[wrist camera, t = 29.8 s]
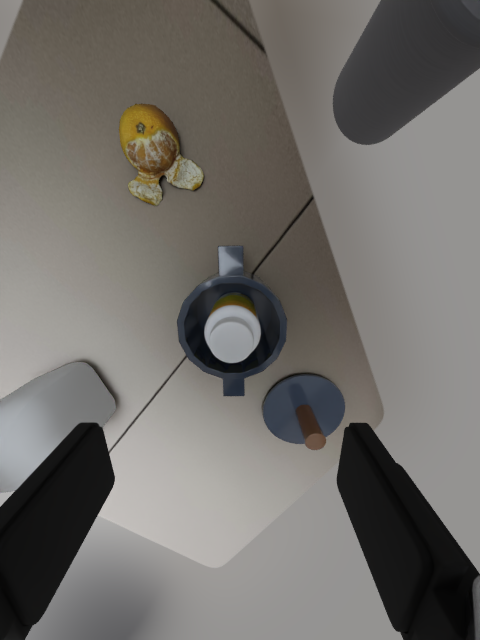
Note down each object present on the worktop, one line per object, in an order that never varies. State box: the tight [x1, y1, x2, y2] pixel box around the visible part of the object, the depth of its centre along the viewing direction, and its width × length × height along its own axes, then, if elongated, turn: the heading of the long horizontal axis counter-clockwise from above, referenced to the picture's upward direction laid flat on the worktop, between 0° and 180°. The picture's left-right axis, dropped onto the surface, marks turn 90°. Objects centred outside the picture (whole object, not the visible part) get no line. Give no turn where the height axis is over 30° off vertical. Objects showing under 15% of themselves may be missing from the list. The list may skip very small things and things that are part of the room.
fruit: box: [119, 104, 204, 206], centre depth 23 cm, size 8×8×4 cm
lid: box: [263, 374, 345, 450], centre depth 31 cm, size 12×12×7 cm
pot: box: [177, 246, 287, 396], centre depth 26 cm, size 11×16×8 cm
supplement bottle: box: [204, 292, 261, 363], centre depth 25 cm, size 6×6×10 cm
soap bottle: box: [0, 362, 116, 493], centre depth 23 cm, size 10×10×23 cm
